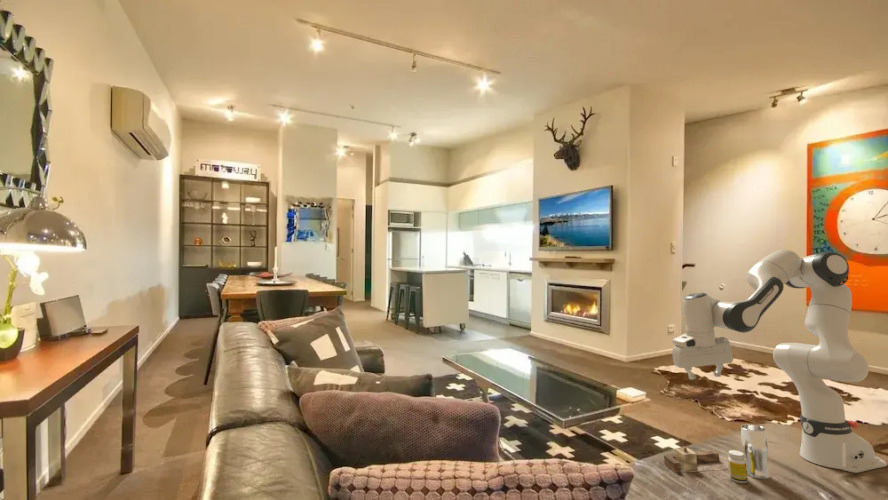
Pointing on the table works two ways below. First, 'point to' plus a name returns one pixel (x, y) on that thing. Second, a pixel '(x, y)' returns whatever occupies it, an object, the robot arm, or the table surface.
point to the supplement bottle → (737, 466)
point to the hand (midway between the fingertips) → (704, 377)
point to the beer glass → (755, 450)
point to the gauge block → (686, 459)
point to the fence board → (701, 457)
